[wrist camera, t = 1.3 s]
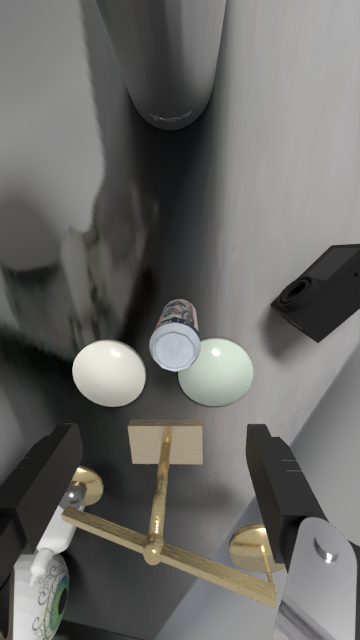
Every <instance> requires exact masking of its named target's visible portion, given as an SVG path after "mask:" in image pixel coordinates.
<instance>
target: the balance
mask: <svg viewBox="0 0 360 640" xmlns="http://www.w3.org/2000/svg"><path fill="white" fill-rule="evenodd" d="M128 432H129V440H130V447H131V455H132V462H133V464H158V471H157V478H156V485H155V492H154V499H153V506H152V513H151V520H150V527H149V534H148V536H146V535H144V534H141V533H138V532H136V531H133V530H130V529H128V528H125V527H123V526H120V525H117V524H115V523H112V522H109V521H107V520H104V519H102V518H99V517H96V516H94V515H91V514H89V513H86V512H83V511H81V510H78V509H79V508H80V506H87V505H91V504H94V503H95V502H97V501H98V500H99V499H100V498H101V495H102V493H103V490H104V483H103V480H102V479H101V477H100V476H99V475H98V474H97V473H96V472H95V471H94V470H92V469H90V468H88V467H85V466H82V465H79V467H78V468H77V470H76V472H75V474H74V476H73V478H72V480H71V482H70V484H69V486H68V488H67V490H66V492H65V494H64V496H63V498H62V499H61V501H60V503H59V506H60V507H61V508H62V509H63V510H64V511H63V512H62V514H61V516H62V519H63V521H64V522H67V523H69V524H71V525H74V526H76V527H79V528H81V529H84V530H86V531H88V532H91V533H93V534H96V535H98V536H101V537H103V538H105V539H108V540H110V541H113V542H115V543H118V544H120V545H123V546H125V547H127V548H130V549H132V550H135V551H137V552H140V553H142V554H143V556H144V559H145V561H146V562H147V563H148V564H150V565H156V564H158V563H159V562H160V561H161V562H164V563H166V564H169V565H171V566H174V567H176V568H178V569H181V570H183V571H186V572H188V573H191V574H193V575H195V576H198V577H200V578H203V579H205V580H208V581H210V582H212V583H215V584H218V585H220V586H222V587H225V588H227V589H230V590H232V591H234V592H237V593H239V594H242V595H244V596H247V597H249V598H251V599H254V600H256V601H259V602H261V603H264V604H266V605H268V606H271V607H273V608H274V607H275V601H276V600H275V597H276V592H275V586H274V584H273V580H272V577H271V573H270V572H275V571H278V570H282V569H284V568H286V567H285V564H277V563H275V562H274V559H273V555H272V551H271V548H270V544H269V541H268V537H267V533H266V530H265V526H264V523H257V524H252V525H248V526H245V527H243V528H241V529H239V530H238V531H236V532H235V533H234V534H233V535H232V537H231V539H230V541H229V550H230V556H231V558H232V560H233V562H234V563H235V564H236V565H238V566H239V567H241V568H242V569H245V570H248V571H251V572H256V573H267V576H268V580H269V582H266V581H264V580H261V579H259V578H256V577H254V576H251V575H248V574H246V573H243V572H240V571H238V570H235V569H233V568H230V567H227V566H225V565H222V564H219V563H217V562H214V561H212V560H209V559H206V558H204V557H201V556H199V555H196V554H193V553H191V552H188V551H185V550H183V549H180V548H178V547H175V546H172V545H170V544H167V543H165V542H164V539H163V538H162V537H163V526H164V515H165V504H166V493H167V483H168V472H169V464H203V453H202V419H130V421H129V424H128Z"/></svg>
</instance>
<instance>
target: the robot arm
mask: <svg viewBox="0 0 360 640" xmlns="http://www.w3.org/2000/svg"><path fill="white" fill-rule="evenodd" d="M95 2H96V5H97V8H98V10H99V13H100V16H101V18H102V21H103V24H104V27H105V29H106V32H107V35H108V37H109V40H110V43H111V45H112V48H113V51H114V54H115V56H116V59H117V62H118V64H119V67H120V70H121V73H122V75H123V78H124V81H125V83H126V86H127V89H128V92H129V94H130V97H131V99H132V102H133V104H134V106H135V108H136V109H137V111H138V112H139V114H140V115H141V116H142V117H143V118H144V119H145V120H146V121H147V122H148V123H149V124H151V125H153V126H154V127H156V128H159V129H163V130H177V129H182V128H184V127H186V126H188V125H190V124H191V123H192V122H194V121H195V120H196V119H197V118H198V117H199V116H200V115H201V113H202V112H203V111H204V109H205V107H206V105H207V104H208V102H209V99H210V96H211V93H212V90H213V84H214V77H215V71H216V64H217V58H218V52H219V46H220V39H221V32H222V25H223V19H224V12H225V5H226V0H95ZM82 456H83V446H82V441H81V437H80V432H79V427H78V425H77V424H58V425H57V426H56V428H55V429H54V430H53V431H52V433H51V434H50V435H49V436H45V437H44V438H42V439H41V440H40V441H38V442H37V443H36V444H35V445H34V446H33V447H32V448H31V449H30V450H29V452H28V453H27V454H26V455H25V458H24V459H22V460H21V462H20V463H19V464H18V465H17V468H16V469H14V470H13V472H12V473H11V474H10V475H9V476H8V478H7V479H6V480H5V481H4V483H3V484H2V485H1V486H0V640H13V622H14V585H15V568H14V565H15V563H16V561H17V560H18V558H19V556H20V554H24V555H33V554H34V552H35V550H36V548H37V546H38V544H39V542H40V540H41V538H42V536H43V534H44V532H45V530H46V528H47V527H48V525H49V523H50V521H51V519H52V517H53V515H54V513H55V511H56V509H57V507H58V505H59V503H60V501H61V499H62V498H63V496H64V494H65V492H66V490H67V488H68V486H69V484H70V482H71V480H72V478H73V476H74V474H75V472H76V470H77V468H78V467H79V465H80V462H81V460H82ZM246 460H247V465H248V469H249V472H250V476H251V479H252V483H253V487H254V490H255V494H256V497H257V501H258V505H259V508H260V511H261V515H262V519H263V523H264V526H265V530H266V533H267V537H268V541H269V544H270V548H271V551H272V555H273V559H274V562H275V563H277V564H285V567H286V570H287V573H288V576H287V580H286V584H285V589H284V593H283V597H282V601H281V604H280V606H279V610H278V614H277V618H276V622H275V626H274V630H273V634H272V638H271V640H360V546H357V545H355V544H354V543H352V542H350V541H349V540H347V539H346V537H345V536H344V535H343V534H342V533H341V532H340V531H339V530H338V529H337V528H336V527H335V526H333V525H332V524H330V522H329V521H328V520H327V518H326V516H325V515H324V513H323V511H322V509H321V507H320V505H319V503H318V501H317V499H316V497H315V495H314V494H313V492H312V490H311V488H310V486H309V484H308V482H307V480H306V478H305V476H304V474H303V472H301V468H300V467H299V465H298V463H297V462H296V459H295V457H294V455H293V453H292V451H291V449H290V447H289V446H288V445H287V444H286V443H285V442H284V441H283V440H282V439H281V438H280V437H271V435H270V433H269V430H268V428H267V426H266V425H265V424H248V426H247V438H246Z"/></svg>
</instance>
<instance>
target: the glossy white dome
mask: <svg viewBox="0 0 360 640" xmlns="http://www.w3.org/2000/svg"><path fill="white" fill-rule="evenodd" d="M73 378H74V381H75V384H76V386H77V387H78V389H79V390H80V391H81V393H82V394H83V395H84V396H86V397H87V398H88V399H90V400H91V401H93V402H95V403H97V404H100V405H103V406H109V407H118V406H123V405H126V404H128V403H130V402H132V401H134V400H135V399H136V398H137V397H138V396H139V395H140V393H141V392H142V390H143V387H144V384H145V381H146V367H145V364H144V362H143V360H142V358H141V356H140V355H139V354H138V353H137V352H136V351H135V350H134V349H133V348H132V347H130V346H129V345H127V344H125V343H123V342H120V341H117V340H110V339H105V340H98V341H95V342H93V343H91V344H89V345H88V346H86V347H85V348H84V349H83V350H82V351H81V352H80V353H79V354H78V355H77V357H76V359H75V361H74V364H73Z"/></svg>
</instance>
